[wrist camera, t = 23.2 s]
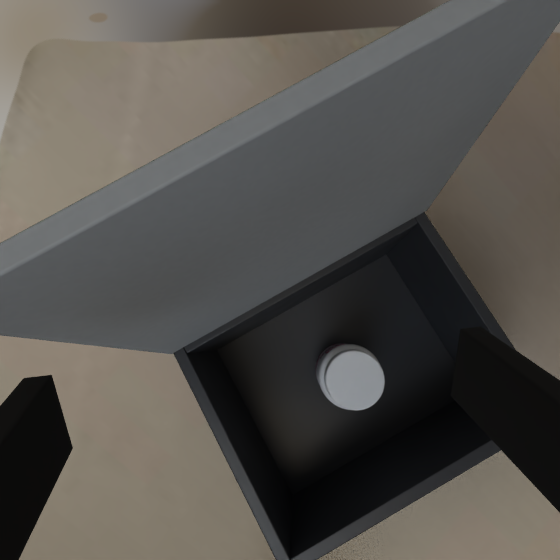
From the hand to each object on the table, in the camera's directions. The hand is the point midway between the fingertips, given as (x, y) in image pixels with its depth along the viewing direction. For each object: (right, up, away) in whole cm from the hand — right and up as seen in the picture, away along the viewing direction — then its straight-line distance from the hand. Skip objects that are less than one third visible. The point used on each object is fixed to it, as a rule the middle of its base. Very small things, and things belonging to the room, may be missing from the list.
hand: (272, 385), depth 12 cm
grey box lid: (+1, +5, +5) cm, 7 cm away
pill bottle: (+6, -5, +21) cm, 23 cm away
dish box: (+6, -5, +22) cm, 23 cm away
